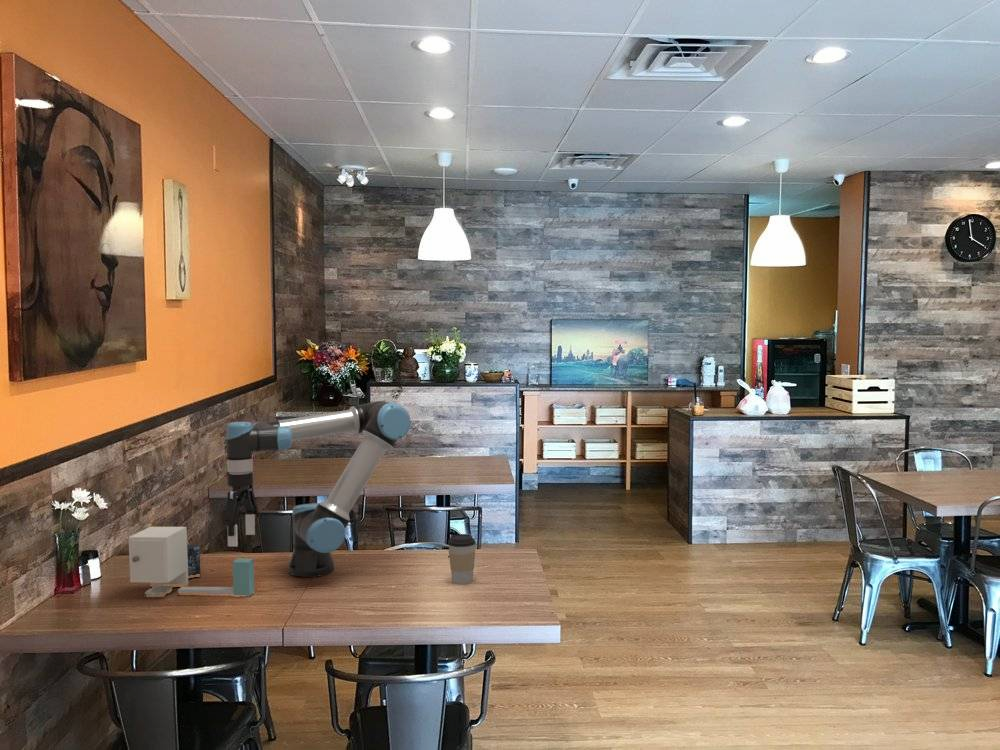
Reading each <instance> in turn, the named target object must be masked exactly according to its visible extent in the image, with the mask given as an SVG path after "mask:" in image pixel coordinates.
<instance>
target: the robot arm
mask: <svg viewBox="0 0 1000 750" xmlns="http://www.w3.org/2000/svg"><path fill="white" fill-rule="evenodd" d="M411 421H412V420H411V417H410V414H409V412H408V410H407V409H406V408H405V407H403V406H402V405H400V404H398V403H396V402H389V401H382V400H377V401H372V402H368V403H364V404H359V405H353V406H352V405H351V406H350V408H349V409H346V410H340V411H334V412H327V413H319V414H313V415H306V416H305V415H304V416H300V417H293V418H287V419H279V420H275V421H273V420H272V421H258V422H255V423H253V424H252V422H250V421H234V422H230V423H227V425H226V434H225V435H226V437H225V439H226V462H225V463H226V465H227V469H226V470H227V471H226V472H228V474H227V475H226V476H227V477H226V478H227V486H229V487H232V491H228V492H227V500H226V501H227V502H226V505H225V506H226V507H225V512H224V518H223V526H227V547H236V548H237V547H238V546H239V544H238V540H239V539H238V524H237V521H238V517H239V512H240V509H241V506H243V509H244V510H245V512H246V514H244V515H245V516H244V517H245V536H255V535H256V527H255V526H256V521H255V520H256V518H255V514H258V504H257V499H256V497H255V493H254V485H253V484H254V473H253V472H252V471H254V461H253V453H258V452H271V451H272V452H273V451H279V452H281V451H284V450H289V449H290V448H291V447H292V443H293V442H294V441H295V442H296V441H301V440H306V439H313V438H319V437H326V436H332V435H339V434H344V433H350V432H352V433H354V434H361V433H362V435H363V438H362V440H361V442H360V443H359V445H358V446H357V449H356V450H355V452H354V453H353V455H352V456H351V459H350V460H349V462H348V463H347V465H346V467H345V468H344V470H343V472H342V473H341V475H340V477H339V478H338V480H337V481H336V483H335V485H334V486H333V488H332V490H331V492H330V493H329V494H328V496H327V498H326V499H325V500H324V501H320V502H316V503H315V502H314V503H305V504H304V503H303V504H297V505H295V506H294V507H293V508H292V514H291V518H292V540H293V541H292V542H293V544H292V545H293V546H292V547H293V550H292V554H291V558H290V559H289V560H290V561H289V563H288V574H289V573H290V574H293V575H295V576H294V577H296V576H302V577H301V578H313V576H316V577H320V576H319V575H322V576H325V575H324V574H326V575H328V574H330V572H331V573H332V572H334V570H335V561H334V558H333V556H332V552H334V551H336V550H338V549H339V548H340V547H341V546H342V544H344V541H345V539H346V528H347V526H348V525H349V522H351V519H350V513H351V510H352V508H353V507H354V505H355V503H356V501H357V500H358V499H359V497H360V495H361V493H362V492H363V490H364V488H365V487H366V485H367V483H368V482H369V480H370V478H371V477H372V474H373V473H374V471H375V469H376V468H377V467H378V465H379V463H380V462H381V461H382V460H381V459H382V458H383V456H384V455H385V453H386V451H388V450H391V449H392V450H393V448H394V446H395V445H396V444H397V442H398V440H400V439H402V438H404V437H405V436H406V435H407V434H408V433H409V431H410V428H411ZM290 574H289V575H290Z"/></svg>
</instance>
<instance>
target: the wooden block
mask: <svg viewBox="0 0 1000 750" xmlns="http://www.w3.org/2000/svg"><path fill="white" fill-rule="evenodd" d="M171 588H173V586H153V587H152V588H149V589H147V590H146V591H145V592H144V595H145V594H146V595H151V594H155V595H164V594H165V593H166V592H167V591H169V590H170V589H171ZM173 589H174V588H173Z"/></svg>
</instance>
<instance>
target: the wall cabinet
mask: <svg viewBox="0 0 1000 750" xmlns="http://www.w3.org/2000/svg"><path fill="white" fill-rule="evenodd" d="M187 532H188V530H187V526H149V527H147V528H145V529H142V530H140V531H139V532H137V533H135V534H132V535H130V536H128V555H129V559H128V561H129V579H130V580H129V582H130V583H149V585H150V584H161V585H163V584H187V583H189V580H188V554H187V545H188V535H187Z"/></svg>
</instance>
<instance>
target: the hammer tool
mask: <svg viewBox="0 0 1000 750" xmlns="http://www.w3.org/2000/svg"><path fill="white" fill-rule="evenodd" d="M254 566H255V565H254V558H243V557H242V558H241V557H240V558H239V557H237V559H235V560H233V561H232V581H233V584H232V585H233V586H189V587H181V588H177V594H178V593H209V594H234V595H247V596H250V595H251V594H252V593H253V592H254V593H255V567H254Z"/></svg>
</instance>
